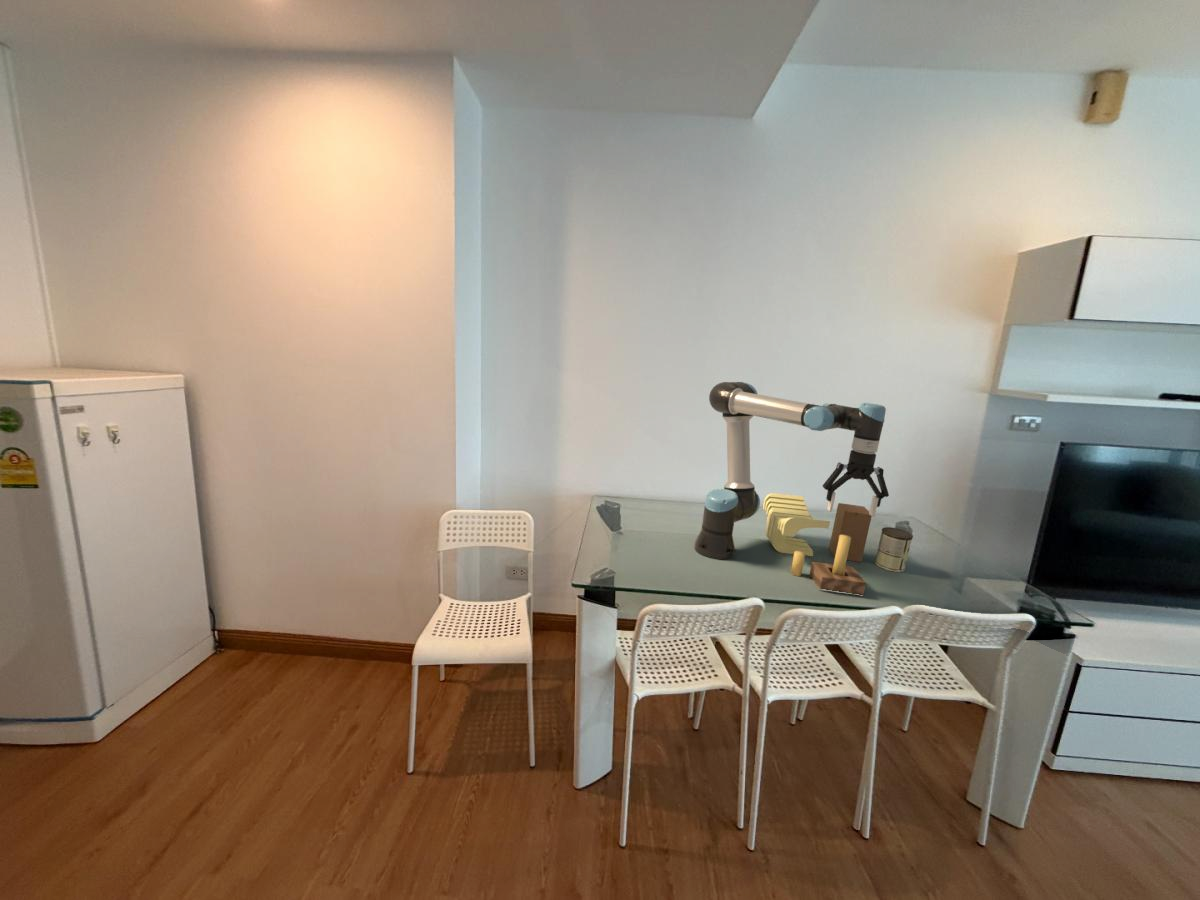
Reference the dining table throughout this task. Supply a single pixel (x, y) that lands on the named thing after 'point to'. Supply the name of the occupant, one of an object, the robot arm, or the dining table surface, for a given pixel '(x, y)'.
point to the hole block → (837, 579)
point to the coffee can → (893, 549)
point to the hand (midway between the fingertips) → (850, 512)
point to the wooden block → (851, 529)
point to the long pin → (841, 555)
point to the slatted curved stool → (789, 522)
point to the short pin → (797, 563)
